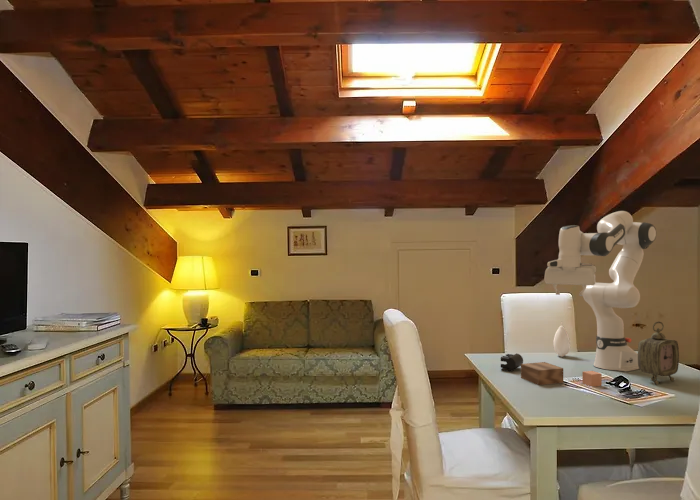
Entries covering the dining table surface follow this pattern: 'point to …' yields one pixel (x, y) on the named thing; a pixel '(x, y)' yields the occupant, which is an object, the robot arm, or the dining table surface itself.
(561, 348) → the white teardrop ornament
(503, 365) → the end cap
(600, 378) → the terracotta block
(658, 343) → the tabletop clock
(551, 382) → the walnut block
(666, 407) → the dining table surface
